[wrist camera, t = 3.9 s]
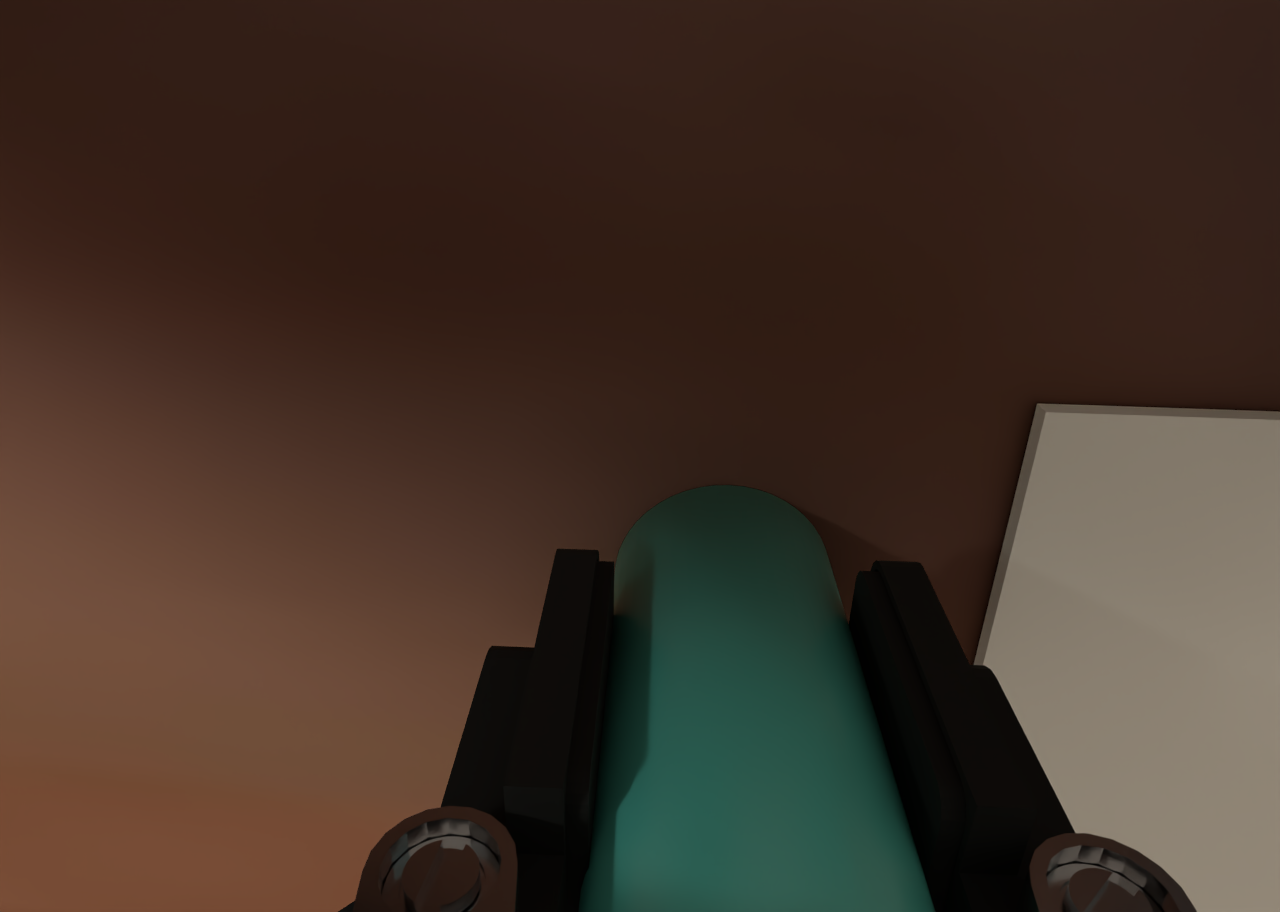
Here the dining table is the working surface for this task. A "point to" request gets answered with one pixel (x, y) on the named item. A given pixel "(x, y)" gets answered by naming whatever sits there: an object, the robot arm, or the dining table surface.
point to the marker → (740, 726)
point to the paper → (1151, 635)
